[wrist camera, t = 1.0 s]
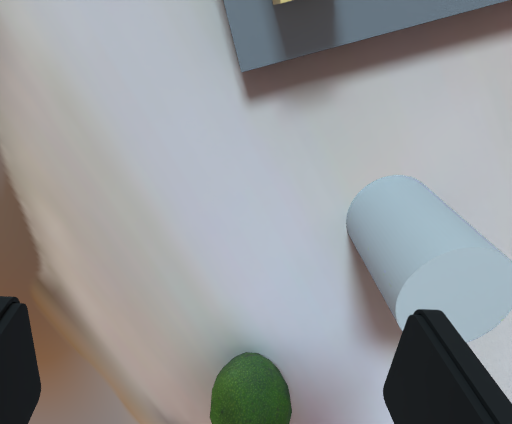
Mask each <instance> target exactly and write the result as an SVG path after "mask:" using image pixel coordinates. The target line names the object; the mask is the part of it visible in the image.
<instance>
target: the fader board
mask: <svg viewBox="0 0 512 424" xmlns="http://www.w3.org/2000/svg"><path fill="white" fill-rule="evenodd" d="M223 1H224V5H225V9H226V13H227V17H228V21H229V25H230V29H231V33H232V37H233V41H234V45H235V49H236V53H237V57H238V61H239V65H240V69H241V72H244V71H248V70H252V69H256V68H259V67H263V66H267V65H270V64H274V63H278V62H282V61H285V60H289V59H293V58H296V57H300V56H304V55H307V54H311V53H315V52H319V51H322V50H326V49H330V48H333V47H337V46H341V45H345V44H348V43H352V42H356V41H359V40H363V39H367V38H370V37H374V36H378V35H382V34H385V33H389V32H393V31H396V30H400V29H404V28H408V27H411V26H415V25H419V24H422V23H426V22H430V21H434V20H437V19H441V18H445V17H448V16H452V15H456V14H459V13H463V12H467V11H471V10H474V9H478V8H482V7H485V6H489V5H493V4H497V3H500V2H504V1H508V0H292V1H288V2H284V3H281V4H275V5H273V2H272V0H223Z"/></svg>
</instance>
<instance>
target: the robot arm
mask: <svg viewBox="0 0 512 424" xmlns="http://www.w3.org/2000/svg"><path fill="white" fill-rule="evenodd" d="M40 392H41V383H40V377H39V371H38V366H37V360H36V355H35V349H34V343H33V338H32V333H31V326H30V321H29V316H28V310H27V306H26V305H25V304H22V303H20V302H19V300H18V298H16V297H3V296H0V424H28V422H29V420H30V417H31V416H32V413H33V411H34V409H35V407H36V405H37V403H38V400H39V397H40ZM383 396H384V400H385V403H386V406H387V408H388V410H389V413H390V415H391V417H392V420H393V422H394V424H512V404H511V402H510V401H509V399H508V398H507V397H506V395H505V394H504V393H503V391H502V390H501V389H500V387H499V386H498V385H497V383H496V382H495V381H494V379H493V378H492V377H491V375H490V374H489V373H488V371H487V370H486V369H485V367H484V366H483V365H482V363H481V362H480V361H479V359H478V358H477V357H476V355H475V354H474V353H473V351H472V350H471V349H470V347H469V346H468V345H467V343H466V342H465V341H464V339H463V338H462V337H461V335H460V334H459V333H458V331H457V330H456V329H455V327H454V326H453V325H452V323H451V322H450V321H449V319H448V318H447V317H446V315H445V314H444V313H443V312H442V311H440V310H430V309H418V310H416V311H415V312H414V314H413V315H410V316H408V318H407V321H406V324H405V327H404V330H403V332H402V335H401V338H400V341H399V344H398V347H397V350H396V353H395V355H394V358H393V361H392V364H391V367H390V370H389V373H388V375H387V378H386V381H385V384H384V388H383Z"/></svg>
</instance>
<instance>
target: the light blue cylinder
mask: <svg viewBox="0 0 512 424" xmlns="http://www.w3.org/2000/svg"><path fill="white" fill-rule="evenodd" d="M346 224H347V230H348V233H349V236H350V238H351V240H352V241H353V243H354V245H355V247H356V249H357V251H358V252H359V254H360V256H361V258H362V260H363V261H364V263H365V265H366V267H367V269H368V271H369V272H370V274H371V276H372V278H373V280H374V281H375V283H376V285H377V287H378V289H379V291H380V292H381V294H382V296H383V298H384V300H385V301H386V303H387V305H388V307H389V309H390V311H391V312H392V314H393V316H394V318H395V320H396V321H397V323H398V325H399V327H400V328H401V330H402V331H403V330H404V327H405V324H406V321H407V318H408V316H410V315H413V314H414V312H415V311H416V310H418V309H430V310H440V311H442V312H443V313H444V314H445V315H446V317H447V318H448V319H449V321H450V322H451V323H452V325H453V326H454V327H455V329H456V330H457V331H458V333H459V334H460V335H461V337H462V338H463V339H464V341H465V342H466V343H467V342H470V341H472V340H475V339H477V338H479V337H481V336H483V335H484V334H486V333H488V332H489V331H491V330H492V329H493V328H495V327H496V326H497V325H498V324H499V323H500V322H501V321H502V320H503V319H504V318H505V317H506V316H507V315H508V313H509V312H510V311H511V309H512V261H511V260H510V259H509V258H508V257H507V256H505V255H504V254H503V253H502V252H501V251H500V250H499V249H497V248H496V247H495V246H494V245H493V244H492V243H491V242H489V241H488V240H487V239H486V238H485V237H484V236H483V235H481V234H480V233H479V232H478V231H477V230H476V229H475V228H473V227H472V226H471V225H470V224H469V223H468V222H467V221H465V220H464V219H463V218H462V217H461V216H460V215H458V214H457V213H456V212H455V211H454V210H453V209H452V208H450V207H449V206H448V205H447V204H446V203H445V202H444V201H442V200H441V199H440V198H439V197H438V196H437V195H436V194H434V193H433V192H432V191H431V190H430V189H429V188H428V187H426V186H425V185H424V184H423V183H422V182H420V181H419V180H417V179H415V178H412V177H409V176H403V175H394V176H387V177H384V178H381V179H378V180H376V181H374V182H372V183H370V184H369V185H367V186H366V187H365V188H363V189H362V190H361V191H360V192H359V193H358V194H357V196H356V197H355V198H354V200H353V201H352V203H351V205H350V207H349V210H348V213H347V220H346Z"/></svg>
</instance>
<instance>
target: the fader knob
mask: <svg viewBox="0 0 512 424" xmlns="http://www.w3.org/2000/svg"><path fill="white" fill-rule="evenodd" d="M288 1H292V0H272V2H273V5H275V4H281V3H284V2H288Z"/></svg>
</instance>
